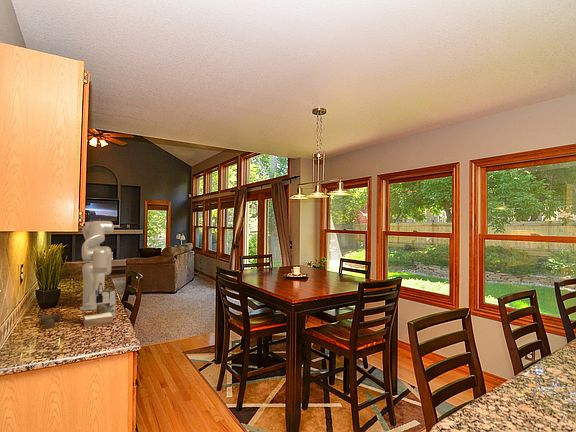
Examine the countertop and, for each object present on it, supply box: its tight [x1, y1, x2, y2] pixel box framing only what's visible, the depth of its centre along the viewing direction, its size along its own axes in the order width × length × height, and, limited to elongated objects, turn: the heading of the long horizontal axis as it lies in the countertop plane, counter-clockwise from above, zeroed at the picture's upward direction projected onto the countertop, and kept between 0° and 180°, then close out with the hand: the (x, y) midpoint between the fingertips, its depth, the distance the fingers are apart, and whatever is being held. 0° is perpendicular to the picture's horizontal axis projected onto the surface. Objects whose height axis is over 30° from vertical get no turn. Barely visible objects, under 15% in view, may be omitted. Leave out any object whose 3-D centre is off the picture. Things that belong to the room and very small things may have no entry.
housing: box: [85, 292, 112, 305], centre depth 188 cm, size 6×13×6 cm, turn 127°
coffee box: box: [96, 289, 117, 317], centre depth 203 cm, size 9×6×16 cm
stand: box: [82, 312, 114, 328], centre depth 188 cm, size 9×14×4 cm, turn 127°
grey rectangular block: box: [39, 312, 62, 330], centre depth 185 cm, size 6×10×20 cm
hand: (98, 301), depth 188 cm, fingers closed on housing, 6 cm apart
